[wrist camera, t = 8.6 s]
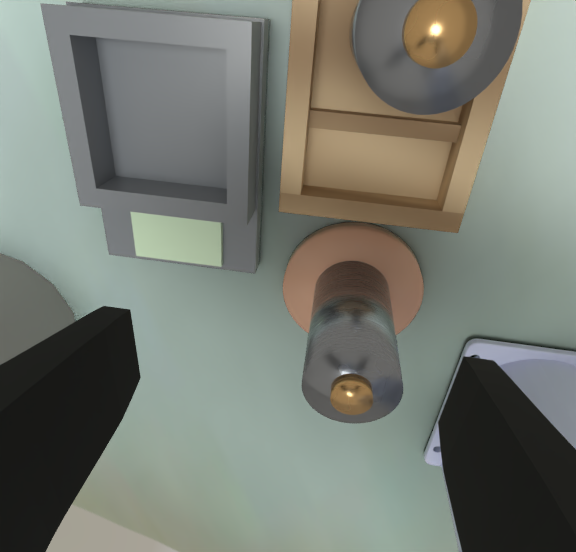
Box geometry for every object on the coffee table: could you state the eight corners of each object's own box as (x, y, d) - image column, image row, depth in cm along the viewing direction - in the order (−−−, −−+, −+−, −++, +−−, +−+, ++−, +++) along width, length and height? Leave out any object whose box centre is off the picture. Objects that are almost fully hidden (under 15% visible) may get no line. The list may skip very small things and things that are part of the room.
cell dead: (381, 327, 20) (393, 441, 15) (311, 317, 20) (296, 426, 15) (396, 265, 18) (415, 369, 13) (319, 256, 19) (305, 353, 13)
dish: (404, 344, 21) (406, 355, 21) (280, 327, 22) (278, 337, 21) (436, 231, 18) (439, 239, 17) (290, 213, 19) (288, 221, 18)
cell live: (437, 91, 15) (497, 127, 9) (342, 80, 15) (343, 109, 9) (467, -27, 13) (562, -70, 8) (358, -37, 13) (372, -88, 8)
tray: (448, 215, 18) (457, 233, 16) (285, 196, 18) (278, 211, 17) (539, -97, 13) (565, -113, 11) (307, -111, 13) (300, -129, 11)
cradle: (259, 262, 20) (247, 292, 18) (119, 244, 21) (91, 271, 18) (269, 19, 15) (255, 17, 13) (81, 3, 15) (36, -1, 13)
